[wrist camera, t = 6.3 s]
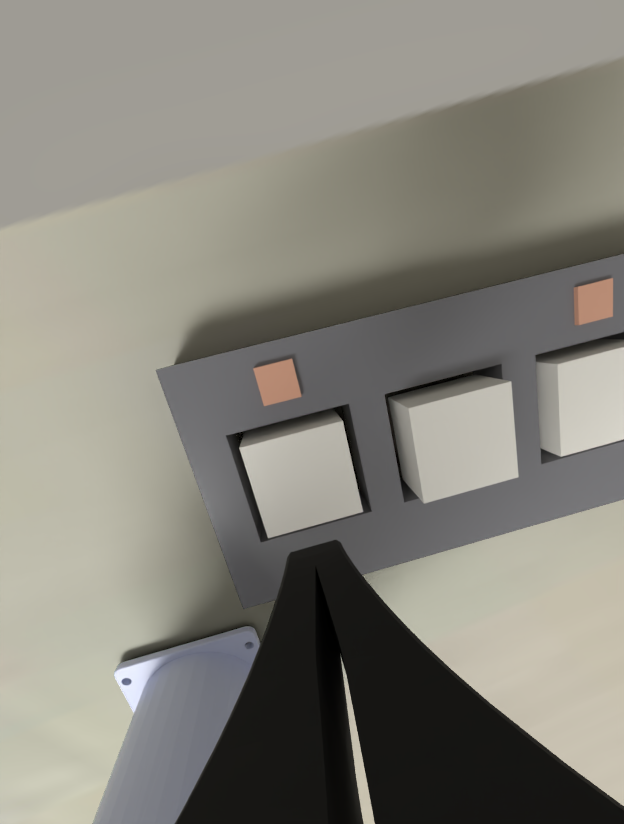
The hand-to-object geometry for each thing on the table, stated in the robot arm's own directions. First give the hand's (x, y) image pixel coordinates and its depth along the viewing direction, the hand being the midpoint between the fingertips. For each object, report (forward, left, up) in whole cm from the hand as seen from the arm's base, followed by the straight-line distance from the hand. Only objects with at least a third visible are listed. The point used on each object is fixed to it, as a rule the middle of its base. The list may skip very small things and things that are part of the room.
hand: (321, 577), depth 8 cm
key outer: (0, -14, -9) cm, 17 cm away
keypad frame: (0, -7, -8) cm, 11 cm away
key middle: (0, -7, -8) cm, 11 cm away
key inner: (0, 0, -9) cm, 9 cm away
